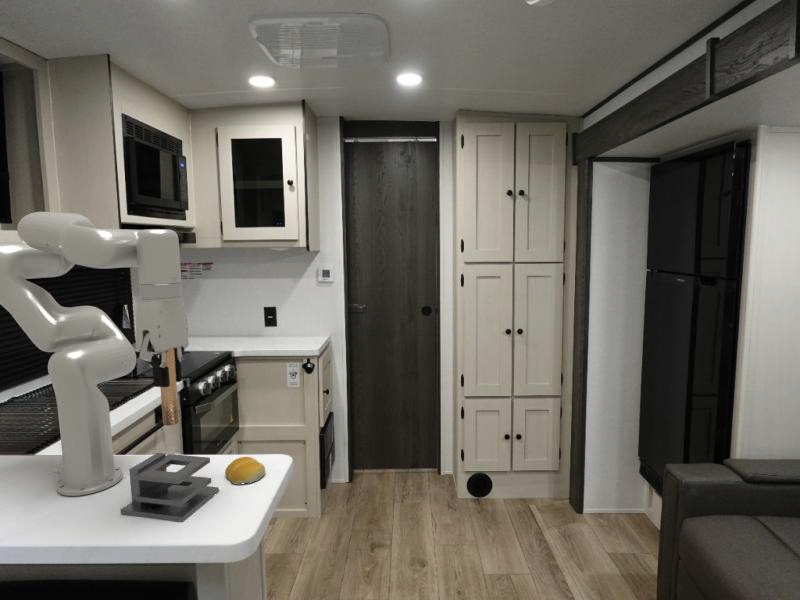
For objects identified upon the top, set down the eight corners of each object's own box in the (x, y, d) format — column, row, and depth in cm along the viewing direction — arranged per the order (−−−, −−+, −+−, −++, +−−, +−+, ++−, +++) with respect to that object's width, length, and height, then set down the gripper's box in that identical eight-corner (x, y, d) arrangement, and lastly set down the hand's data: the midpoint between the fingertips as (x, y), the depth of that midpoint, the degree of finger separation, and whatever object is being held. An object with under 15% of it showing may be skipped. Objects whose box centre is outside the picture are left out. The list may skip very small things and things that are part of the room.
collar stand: (120, 514, 99) (117, 473, 98) (162, 485, 110) (159, 448, 110) (182, 522, 96) (179, 479, 95) (218, 491, 107) (216, 453, 106)
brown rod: (159, 425, 100) (151, 326, 98) (169, 419, 103) (162, 323, 101) (173, 425, 99) (165, 326, 97) (183, 420, 102) (176, 323, 100)
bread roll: (237, 490, 108) (236, 472, 108) (221, 476, 115) (220, 459, 115) (272, 477, 114) (271, 460, 113) (255, 465, 121) (254, 449, 120)
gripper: (172, 289, 107) (178, 373, 109) (112, 297, 91) (121, 395, 93) (203, 289, 105) (208, 374, 107) (148, 297, 90) (156, 397, 92)
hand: (168, 383), depth 100 cm, fingers closed on brown rod, 3 cm apart
